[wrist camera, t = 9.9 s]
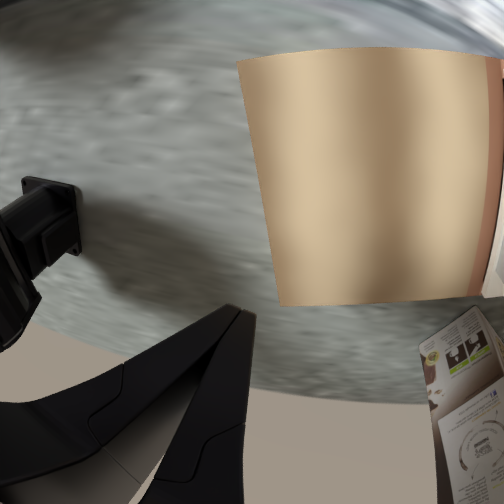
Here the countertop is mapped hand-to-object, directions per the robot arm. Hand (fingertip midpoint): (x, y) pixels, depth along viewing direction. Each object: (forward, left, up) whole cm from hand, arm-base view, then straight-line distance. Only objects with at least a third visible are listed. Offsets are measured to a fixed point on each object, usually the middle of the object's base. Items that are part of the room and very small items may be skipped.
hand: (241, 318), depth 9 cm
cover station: (+10, +4, -12) cm, 16 cm away
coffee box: (+19, -10, -12) cm, 25 cm away
